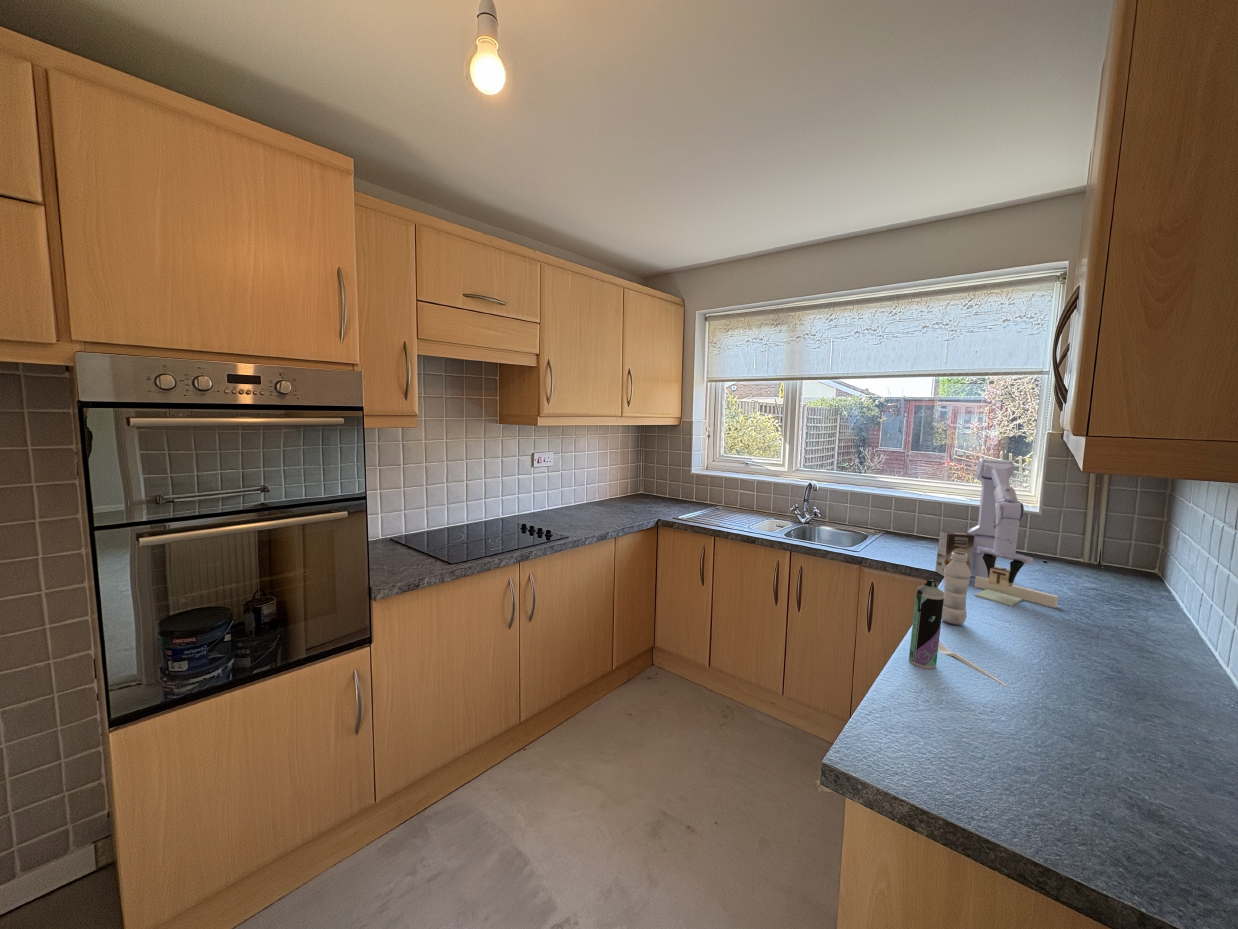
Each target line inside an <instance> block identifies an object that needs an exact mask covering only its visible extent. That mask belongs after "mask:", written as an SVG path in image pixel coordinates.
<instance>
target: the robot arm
mask: <svg viewBox="0 0 1238 929" xmlns="http://www.w3.org/2000/svg"><path fill="white" fill-rule="evenodd" d="M1014 472H1015V463H1014V461H1013V460H1011V459H1009V460H1007V459H993V458H991V459H989V458H983V457H982V458H980V459H979V460H978V461H977V465H976V474H975V477H976V480H977V481H979V482H981V483H980V485H981V491H980V492H981V493H980V501H979V510H978V511H979V513H978V523H977V525H976V526H974V527H971V528H969V529H968V532H967V533H970V534H972V535H974V536H975V537H974V545H973V553H972V561H971V569H970V571H971V578H972V577H973V578H976V576H979V577H983V578H987V579H989V575H990V568H993V567H996V565H997V558H1001V559H1005V560H1009V561H1010V562H1009V567H1010V568H1009V569H1010V576H1009V583H1013V584H1014V581H1015V579H1016V577H1017V575H1018V573H1019V572H1020V570H1021V569H1022V567H1023V566H1024V565H1025V564H1026V565H1032V564H1033V559H1034V557H1032V556H1031V557H1030V556H1027V555H1024V554H1020V553H1016V551H1017V544H1018V534H1019V528H1020V527H1019V526H1020V522H1021V521H1022V520H1023V519H1024V514H1025V507H1024V503H1023V502H1021V501H1019V500H1018V497H1017V492H1016V490H1015V489H1014V488H1013V487H1012V486H1010V479H1011V478H1012V477H1013V475H1014ZM994 523H995V524H996V525H995V526H996V527H994Z"/></svg>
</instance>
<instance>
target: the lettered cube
mask: <svg viewBox="0 0 1238 929" xmlns="http://www.w3.org/2000/svg"><path fill="white" fill-rule="evenodd" d="M1009 576H1010V568H1005V567H1001V566H995V567H993V568H990V575H989V584H993V585H997V586H1001V587H1005V588H1008V587H1010V586H1012V585H1014V582H1013V583H1009Z"/></svg>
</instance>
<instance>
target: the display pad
mask: <svg viewBox="0 0 1238 929" xmlns="http://www.w3.org/2000/svg"><path fill="white" fill-rule="evenodd" d="M974 596H975V597H978V598H981V599H985V600H988V601H992V602H995V603H998V604H1003V605H1005V606H1008V607H1009V606H1010V607H1013V606H1015V605H1016V604H1018V603H1020V602H1022V601H1023V598H1019V597H1015V596H1011V595H1008V594H1004V593H1000V592H996V591H993V590H989V589H983V590H981V591H979V592H977V593H974Z"/></svg>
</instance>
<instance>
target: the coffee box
mask: <svg viewBox="0 0 1238 929" xmlns="http://www.w3.org/2000/svg"><path fill="white" fill-rule="evenodd" d="M974 537H975V536H974V535H972V534H970V533H968V532H967V531H957V530H944V529H943V530H941V529H940V530H939V538H938V546H937V554H936V561H935V570H934V571H935V572H936V573H938V574H940V575H941V576H943V577H944V569H945V567H946V566H947V565H948V564H949V563H950V562H951V561H952V559H951V557H952V552H961V553H965V554H967V562H966V564H967V566H968V567H969V569H971V561H972V553H973V545H974Z"/></svg>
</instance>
